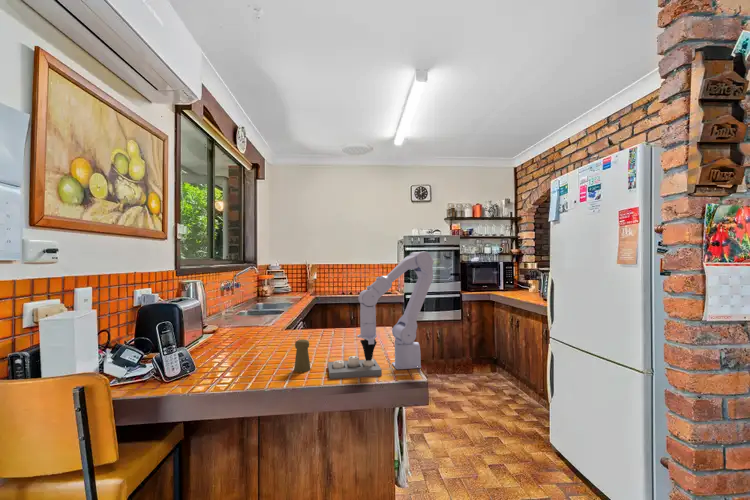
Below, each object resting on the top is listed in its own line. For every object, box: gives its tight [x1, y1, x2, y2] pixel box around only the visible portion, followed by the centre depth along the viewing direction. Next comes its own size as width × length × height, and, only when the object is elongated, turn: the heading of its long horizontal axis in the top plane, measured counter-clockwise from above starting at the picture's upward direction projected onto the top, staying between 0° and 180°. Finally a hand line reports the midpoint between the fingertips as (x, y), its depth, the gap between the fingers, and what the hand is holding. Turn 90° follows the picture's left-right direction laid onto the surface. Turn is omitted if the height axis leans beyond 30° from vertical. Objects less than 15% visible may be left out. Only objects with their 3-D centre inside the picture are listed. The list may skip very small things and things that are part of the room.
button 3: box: [332, 360, 345, 369], centre depth 133 cm, size 4×4×3 cm
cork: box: [293, 338, 312, 373], centre depth 137 cm, size 6×6×11 cm
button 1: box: [362, 358, 374, 367], centre depth 135 cm, size 4×4×3 cm
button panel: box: [327, 358, 383, 380], centre depth 134 cm, size 18×14×2 cm
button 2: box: [347, 355, 360, 367], centre depth 134 cm, size 4×4×3 cm
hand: (368, 360), depth 135 cm, fingers closed, pressing on button 1
